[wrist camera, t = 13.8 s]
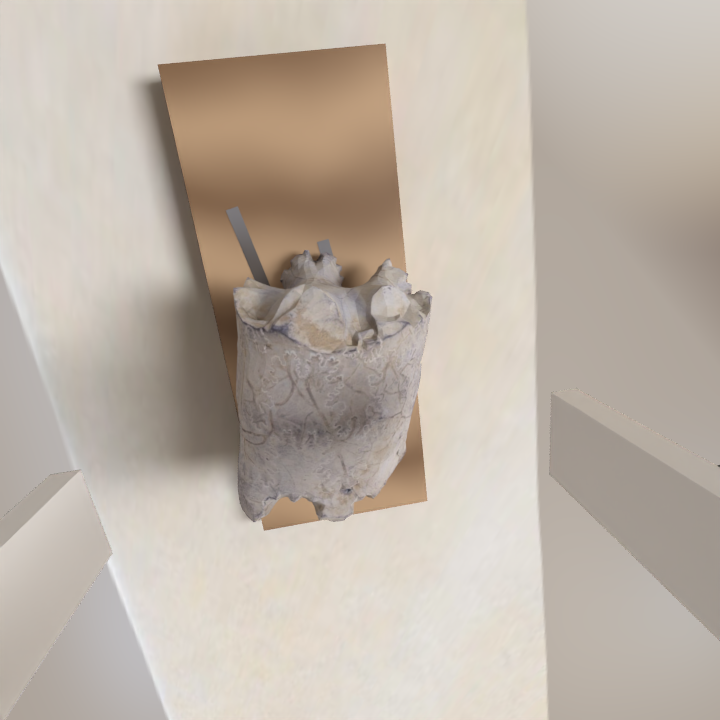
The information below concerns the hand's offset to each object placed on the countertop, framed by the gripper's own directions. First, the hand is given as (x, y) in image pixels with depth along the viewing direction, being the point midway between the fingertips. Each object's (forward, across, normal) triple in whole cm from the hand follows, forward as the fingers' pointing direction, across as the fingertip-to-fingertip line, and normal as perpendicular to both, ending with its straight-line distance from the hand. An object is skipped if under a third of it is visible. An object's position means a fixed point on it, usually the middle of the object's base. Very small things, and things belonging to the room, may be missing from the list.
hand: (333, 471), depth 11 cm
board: (+12, 0, +2) cm, 12 cm away
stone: (+11, 0, 0) cm, 11 cm away
